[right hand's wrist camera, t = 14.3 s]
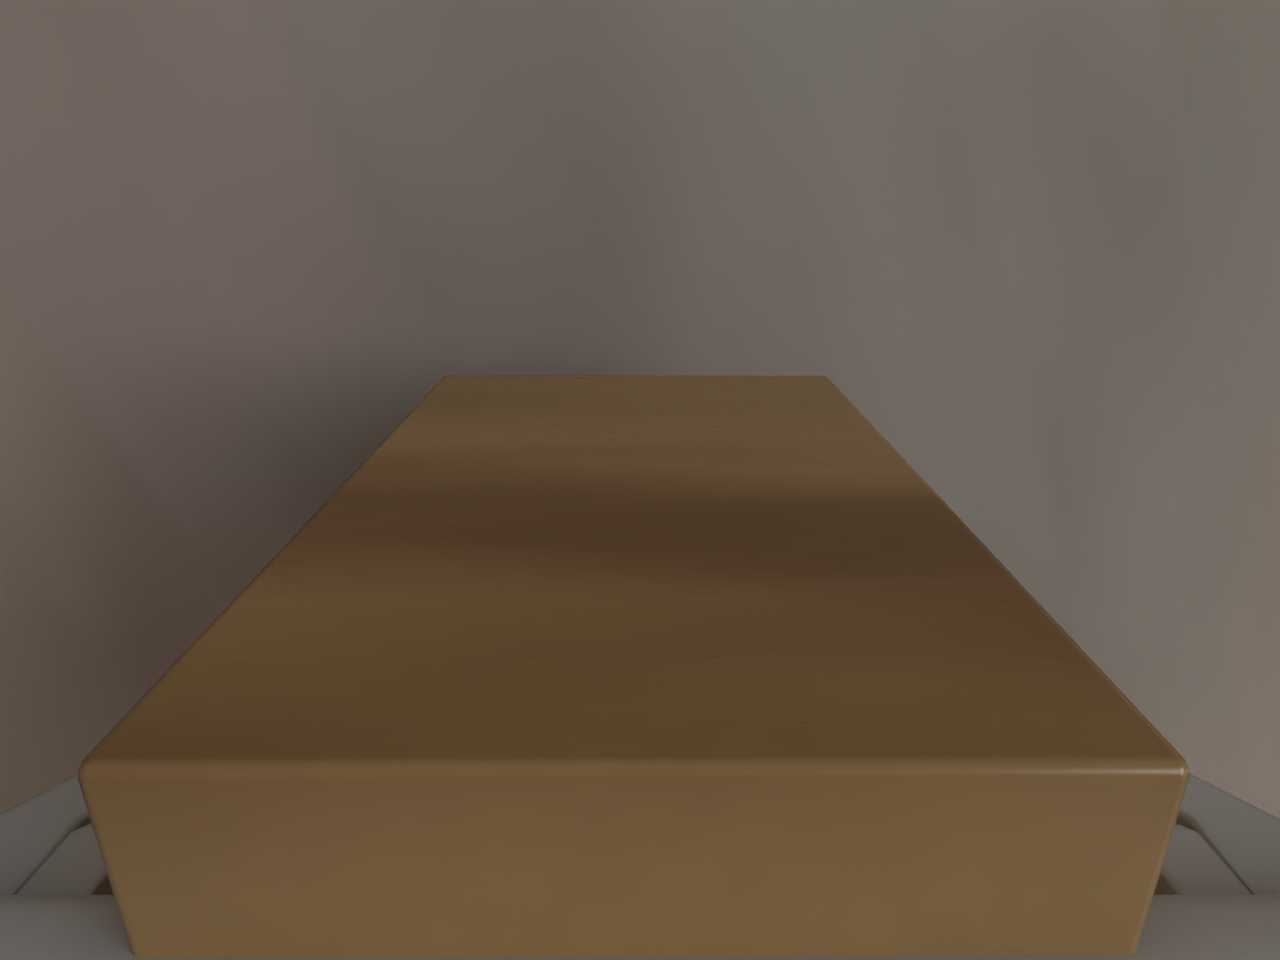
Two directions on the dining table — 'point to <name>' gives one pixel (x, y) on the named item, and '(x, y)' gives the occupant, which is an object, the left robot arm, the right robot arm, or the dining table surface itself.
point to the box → (633, 707)
